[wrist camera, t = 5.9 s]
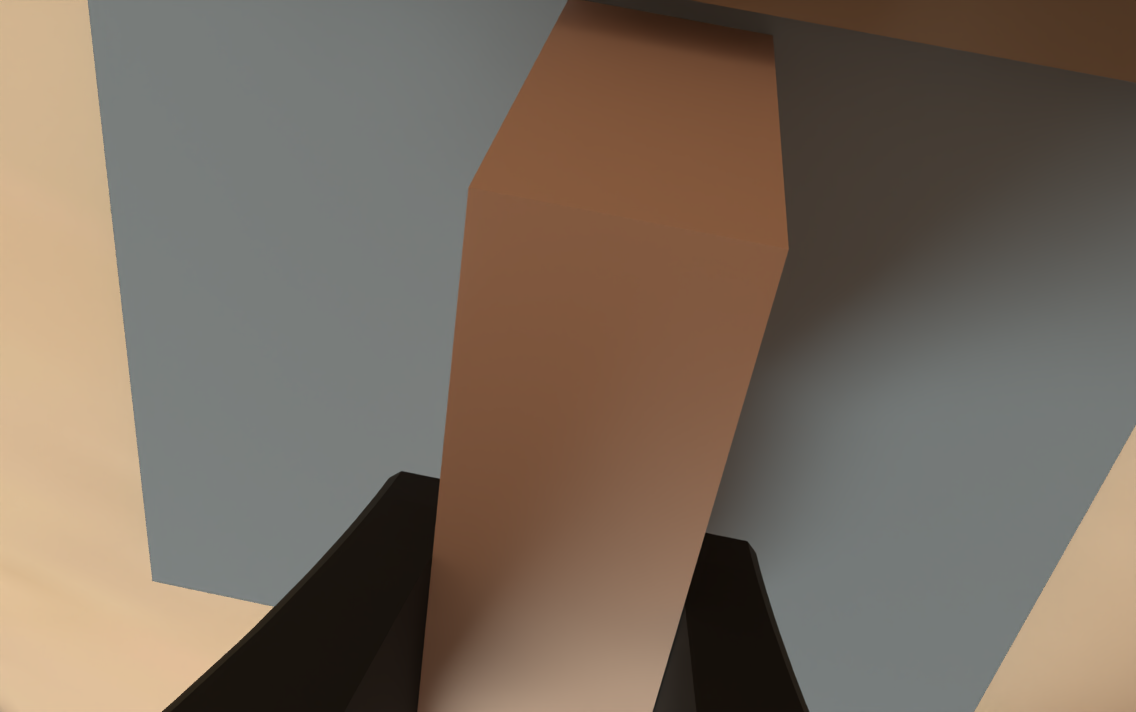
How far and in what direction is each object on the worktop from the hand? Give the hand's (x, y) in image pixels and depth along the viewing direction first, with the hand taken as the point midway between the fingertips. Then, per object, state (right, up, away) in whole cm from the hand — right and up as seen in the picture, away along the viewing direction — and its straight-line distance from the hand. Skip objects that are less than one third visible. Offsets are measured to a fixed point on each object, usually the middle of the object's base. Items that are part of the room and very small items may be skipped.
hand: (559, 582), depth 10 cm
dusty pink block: (0, +2, +3) cm, 3 cm away
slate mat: (+1, +2, +3) cm, 4 cm away
